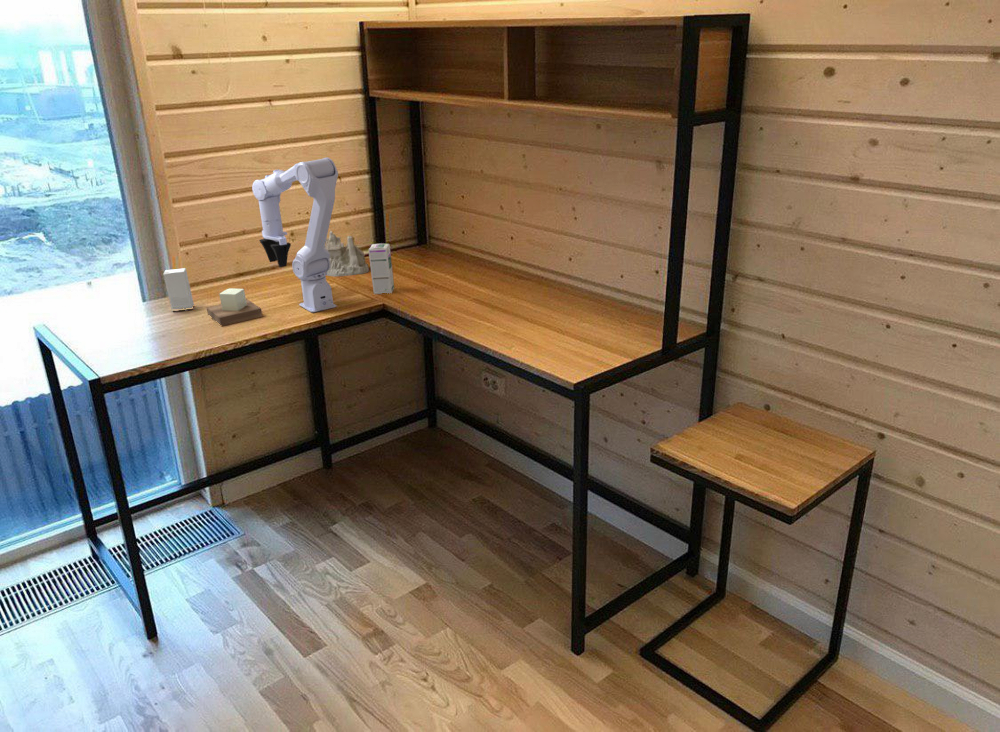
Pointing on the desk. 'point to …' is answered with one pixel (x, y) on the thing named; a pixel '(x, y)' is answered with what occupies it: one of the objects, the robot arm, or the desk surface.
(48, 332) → the desk surface
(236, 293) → the white block
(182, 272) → the skincare box
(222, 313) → the walnut box
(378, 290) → the syrup box
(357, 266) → the rocky castle sculpture
